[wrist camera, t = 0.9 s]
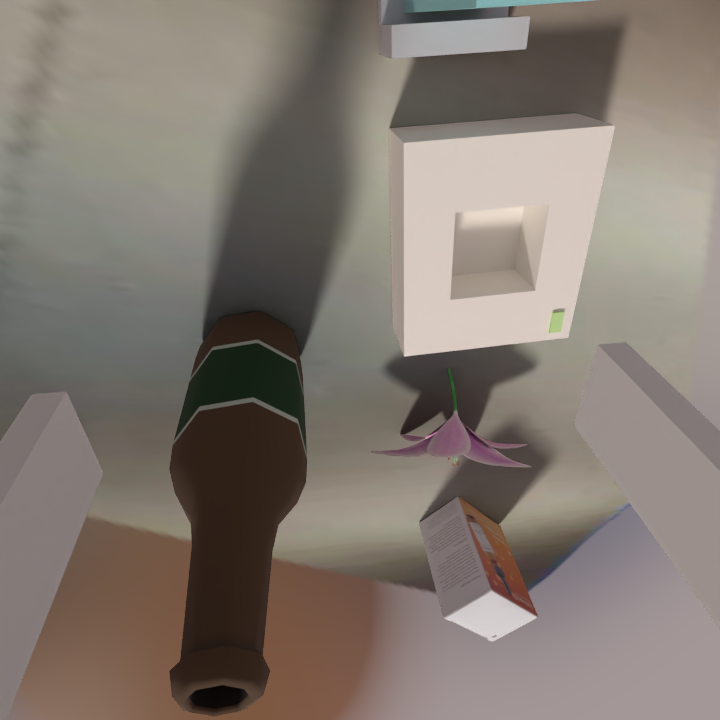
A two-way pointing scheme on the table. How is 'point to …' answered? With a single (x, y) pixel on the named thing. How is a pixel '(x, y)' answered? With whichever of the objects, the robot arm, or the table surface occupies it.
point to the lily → (457, 442)
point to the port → (491, 228)
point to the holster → (448, 31)
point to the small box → (475, 571)
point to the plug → (469, 4)
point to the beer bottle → (235, 502)
